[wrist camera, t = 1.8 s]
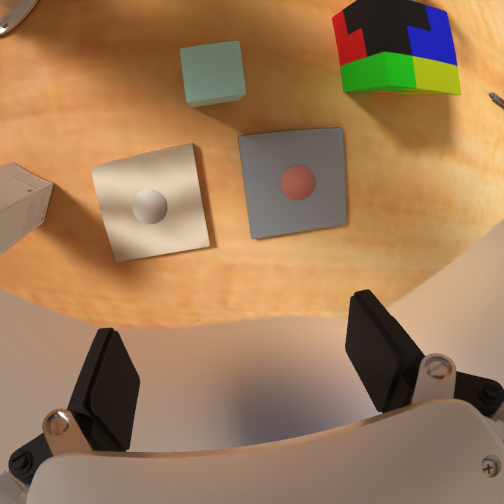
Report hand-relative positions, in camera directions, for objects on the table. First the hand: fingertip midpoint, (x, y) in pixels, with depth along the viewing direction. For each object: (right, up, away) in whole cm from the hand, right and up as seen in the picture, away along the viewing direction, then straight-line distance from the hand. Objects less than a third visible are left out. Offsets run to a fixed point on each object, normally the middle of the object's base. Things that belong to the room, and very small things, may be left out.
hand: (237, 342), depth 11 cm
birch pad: (-11, +9, +22) cm, 26 cm away
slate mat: (+6, +12, +23) cm, 26 cm away
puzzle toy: (+16, +28, +17) cm, 36 cm away
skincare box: (-28, +11, +18) cm, 36 cm away
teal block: (-4, +22, +17) cm, 28 cm away
